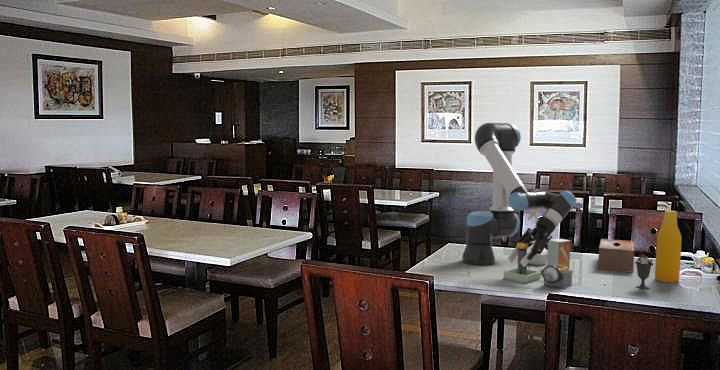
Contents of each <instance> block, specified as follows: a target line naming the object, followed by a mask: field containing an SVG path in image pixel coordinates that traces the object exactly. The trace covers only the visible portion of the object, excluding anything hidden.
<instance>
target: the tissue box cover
mask: <svg viewBox="0 0 720 370" xmlns="http://www.w3.org/2000/svg"><path fill="white" fill-rule="evenodd" d="M634 261H635V242H634V240H622V239H621V240H620V239H609V238H608V239H607V238H601V239H600V243H599V246H598V261H597V262H598V263H597V265H598V266H597V269H598V270H602V271H603V270H604V271H613V270H614V271H615V272H623V271H631V272H630V273H634V264H635V262H634Z"/></svg>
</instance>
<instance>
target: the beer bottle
mask: <svg viewBox="0 0 720 370" xmlns="http://www.w3.org/2000/svg"><path fill="white" fill-rule="evenodd" d="M681 234H682V233H681V231H680V229H679V226H678V215H677V211H676V210H665V211H664V215H663V222H662V225H661V227H660V229H659V231H658V233H657V236H656V251H655V266H654V267H655V268H654V269H655V270H654V279H655V280H656V281H658V280H659V281H658V282H661V281H665V282H664V283H668V282H676V283H678V282H679V281H680V276H681V272H680V271H681V259H682V258H681V256H682V255H681V254H682V241H683V240H682V235H681ZM677 281H678V282H677Z"/></svg>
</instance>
